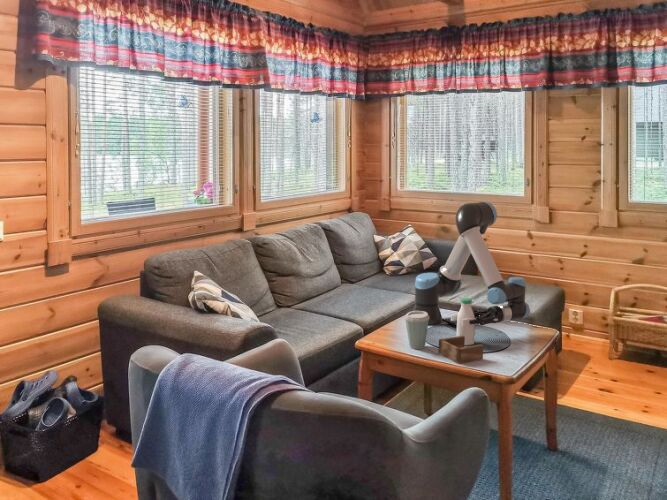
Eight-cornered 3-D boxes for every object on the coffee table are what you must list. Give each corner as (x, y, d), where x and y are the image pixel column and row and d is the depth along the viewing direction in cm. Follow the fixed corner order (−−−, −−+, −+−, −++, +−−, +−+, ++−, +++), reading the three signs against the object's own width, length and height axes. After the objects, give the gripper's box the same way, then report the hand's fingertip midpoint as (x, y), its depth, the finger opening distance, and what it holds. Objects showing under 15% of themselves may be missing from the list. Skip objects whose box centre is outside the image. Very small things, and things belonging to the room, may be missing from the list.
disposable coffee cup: (424, 352, 252) (424, 318, 250) (400, 348, 258) (400, 314, 255) (432, 345, 262) (433, 311, 259) (409, 341, 267) (409, 308, 264)
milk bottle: (474, 346, 259) (475, 301, 256) (456, 345, 261) (457, 300, 258) (474, 340, 267) (475, 297, 263) (456, 339, 268) (457, 296, 265)
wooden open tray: (438, 353, 251) (438, 339, 250) (462, 349, 256) (462, 335, 255) (458, 364, 239) (458, 349, 238) (482, 359, 243) (483, 345, 242)
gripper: (513, 328, 261) (470, 335, 251) (484, 316, 279) (443, 322, 270) (514, 311, 259) (471, 318, 250) (484, 300, 278) (443, 306, 269)
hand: (456, 320), depth 260 cm, fingers closed on milk bottle, 7 cm apart
